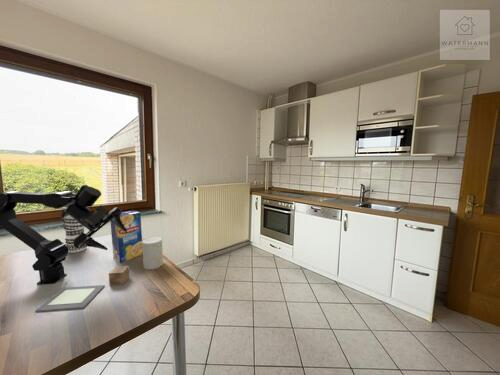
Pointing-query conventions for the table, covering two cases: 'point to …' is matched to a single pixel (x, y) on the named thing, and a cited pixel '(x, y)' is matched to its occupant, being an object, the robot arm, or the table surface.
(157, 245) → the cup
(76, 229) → the decorative candle
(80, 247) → the robot arm
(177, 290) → the table surface
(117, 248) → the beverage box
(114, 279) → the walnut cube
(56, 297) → the rest pad
